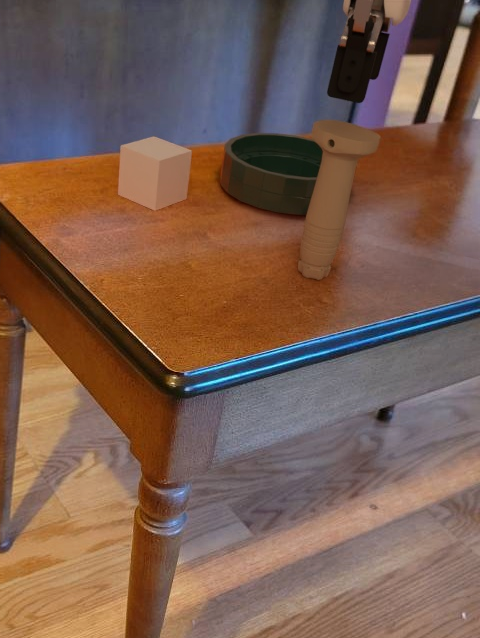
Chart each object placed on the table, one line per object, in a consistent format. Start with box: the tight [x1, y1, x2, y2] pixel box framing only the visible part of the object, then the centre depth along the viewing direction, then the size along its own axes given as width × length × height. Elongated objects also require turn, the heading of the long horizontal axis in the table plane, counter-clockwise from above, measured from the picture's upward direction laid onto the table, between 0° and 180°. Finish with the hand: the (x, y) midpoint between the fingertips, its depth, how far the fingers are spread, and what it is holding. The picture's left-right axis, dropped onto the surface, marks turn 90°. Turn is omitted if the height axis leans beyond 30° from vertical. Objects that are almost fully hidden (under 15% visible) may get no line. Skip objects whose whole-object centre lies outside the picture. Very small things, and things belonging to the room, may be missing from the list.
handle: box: [297, 118, 382, 281], centre depth 74 cm, size 5×6×15 cm
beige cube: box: [117, 136, 193, 212], centre depth 89 cm, size 6×6×6 cm
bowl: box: [219, 132, 358, 216], centre depth 95 cm, size 17×17×5 cm
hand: (353, 87), depth 67 cm, fingers open, 9 cm apart
